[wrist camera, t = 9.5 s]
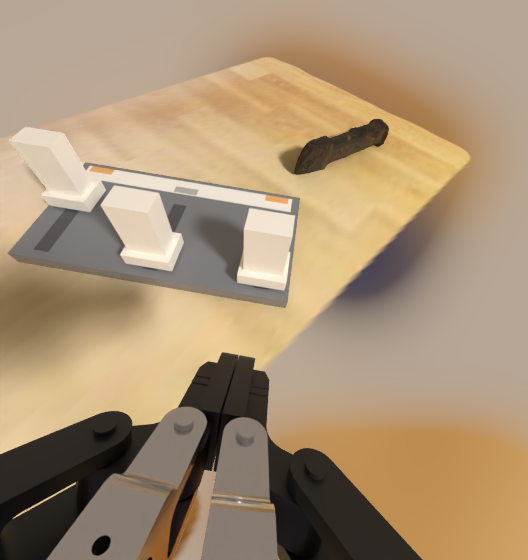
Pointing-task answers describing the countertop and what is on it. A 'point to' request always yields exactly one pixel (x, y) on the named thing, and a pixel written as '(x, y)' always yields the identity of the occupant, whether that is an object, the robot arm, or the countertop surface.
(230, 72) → the countertop surface
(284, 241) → the near tab
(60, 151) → the far tab
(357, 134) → the hand tool
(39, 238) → the switch bank
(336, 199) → the countertop surface
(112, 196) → the middle tab
